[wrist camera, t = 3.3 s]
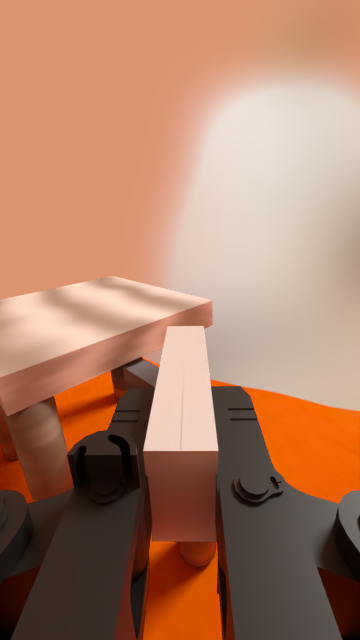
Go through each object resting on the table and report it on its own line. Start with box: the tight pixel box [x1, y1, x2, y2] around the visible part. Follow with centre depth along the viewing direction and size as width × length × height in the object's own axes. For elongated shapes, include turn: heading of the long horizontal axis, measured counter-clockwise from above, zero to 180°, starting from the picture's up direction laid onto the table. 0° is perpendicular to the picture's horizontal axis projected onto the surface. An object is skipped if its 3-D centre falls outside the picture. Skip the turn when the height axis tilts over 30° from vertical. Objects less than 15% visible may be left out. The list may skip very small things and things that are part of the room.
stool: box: [0, 276, 212, 502], centre depth 31 cm, size 18×18×18 cm
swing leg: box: [111, 357, 216, 567], centre depth 23 cm, size 10×3×15 cm, turn 43°
